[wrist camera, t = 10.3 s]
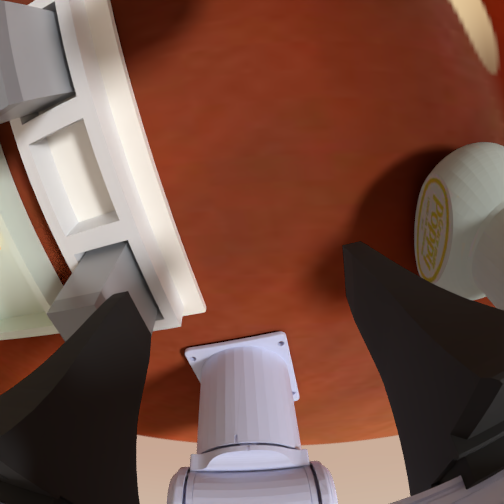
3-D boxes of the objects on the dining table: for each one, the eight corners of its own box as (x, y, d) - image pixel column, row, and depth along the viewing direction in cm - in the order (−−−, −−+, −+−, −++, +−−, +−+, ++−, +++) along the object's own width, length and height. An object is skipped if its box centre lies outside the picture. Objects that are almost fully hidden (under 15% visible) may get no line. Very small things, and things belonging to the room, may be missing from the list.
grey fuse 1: (84, 89, 14) (9, 104, 8) (43, 110, 14) (-36, 137, 8) (66, 15, 12) (-10, -2, 6) (26, 38, 12) (-55, 39, 6)
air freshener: (413, 130, 17) (531, 188, 8) (502, 135, 17) (605, 187, 8) (401, 278, 22) (464, 380, 14) (480, 263, 22) (549, 341, 14)
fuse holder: (206, 306, 23) (203, 332, 20) (109, 323, 23) (100, 346, 21) (104, -28, 11) (86, -41, 9) (-1, 33, 12) (-26, 33, 9)
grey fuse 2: (161, 296, 21) (141, 377, 15) (123, 303, 21) (95, 381, 15) (133, 231, 19) (94, 304, 13) (93, 242, 19) (46, 313, 13)
